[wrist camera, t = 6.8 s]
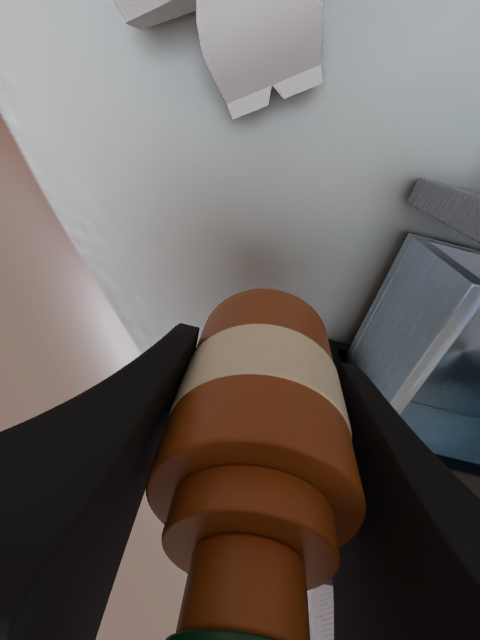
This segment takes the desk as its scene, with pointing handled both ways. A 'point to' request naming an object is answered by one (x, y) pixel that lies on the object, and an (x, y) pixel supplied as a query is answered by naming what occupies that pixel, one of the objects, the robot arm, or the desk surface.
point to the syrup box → (322, 612)
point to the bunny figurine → (247, 44)
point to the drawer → (430, 328)
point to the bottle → (256, 471)
